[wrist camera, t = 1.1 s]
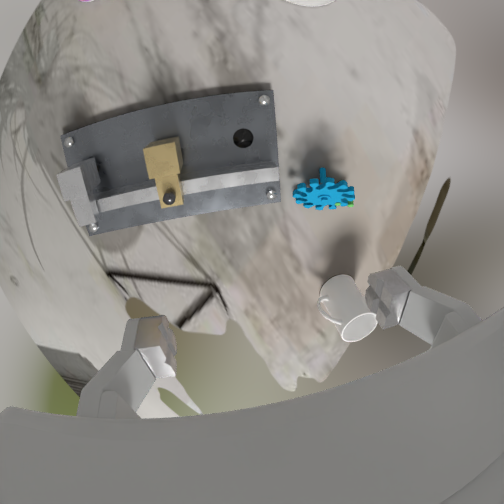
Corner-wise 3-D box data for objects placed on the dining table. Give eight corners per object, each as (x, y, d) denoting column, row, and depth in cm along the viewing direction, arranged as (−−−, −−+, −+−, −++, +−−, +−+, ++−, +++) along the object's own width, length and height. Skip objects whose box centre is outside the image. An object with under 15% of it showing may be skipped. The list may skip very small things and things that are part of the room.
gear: (280, 203, 44) (321, 178, 35) (281, 172, 45) (318, 144, 37) (331, 219, 49) (372, 201, 40) (329, 190, 50) (368, 169, 42)
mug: (300, 299, 58) (318, 340, 48) (318, 267, 54) (343, 307, 44) (341, 306, 62) (363, 343, 52) (360, 278, 58) (386, 314, 48)
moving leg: (152, 140, 35) (142, 149, 29) (179, 134, 36) (174, 142, 30) (163, 193, 40) (156, 212, 34) (189, 189, 40) (186, 207, 34)
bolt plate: (63, 134, 33) (58, 136, 31) (271, 90, 36) (274, 89, 34) (91, 232, 42) (88, 237, 41) (278, 199, 45) (281, 203, 44)
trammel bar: (72, 163, 34) (50, 176, 28) (269, 122, 37) (282, 127, 31) (86, 211, 39) (69, 231, 33) (273, 176, 42) (285, 191, 36)
